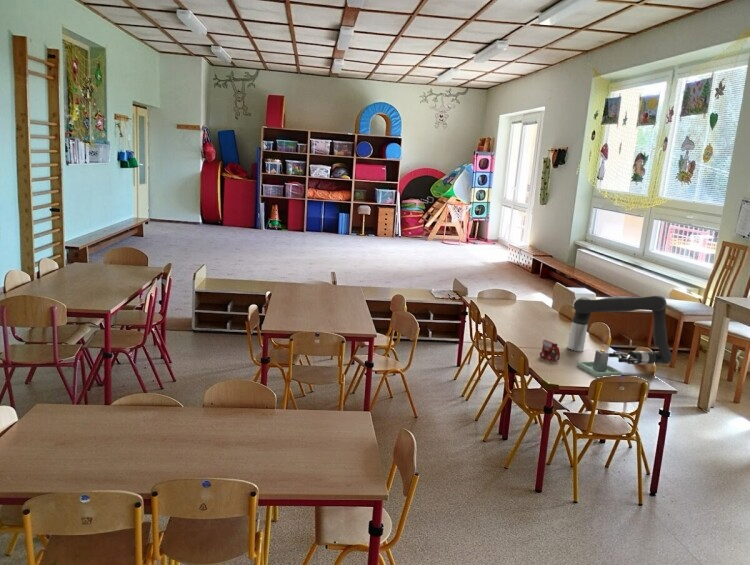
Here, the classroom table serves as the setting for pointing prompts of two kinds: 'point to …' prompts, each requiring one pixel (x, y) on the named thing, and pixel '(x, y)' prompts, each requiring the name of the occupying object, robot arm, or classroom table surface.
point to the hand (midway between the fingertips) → (614, 357)
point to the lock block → (600, 361)
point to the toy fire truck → (550, 351)
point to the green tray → (589, 369)
